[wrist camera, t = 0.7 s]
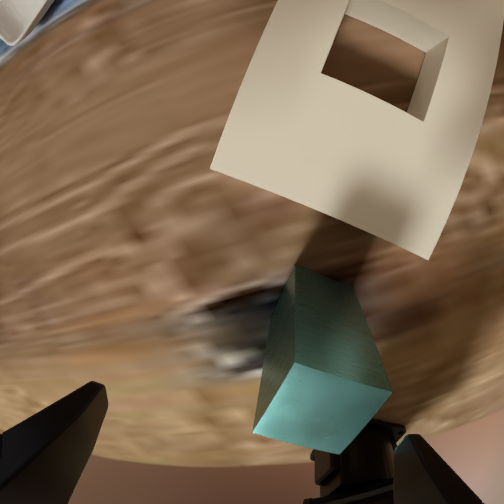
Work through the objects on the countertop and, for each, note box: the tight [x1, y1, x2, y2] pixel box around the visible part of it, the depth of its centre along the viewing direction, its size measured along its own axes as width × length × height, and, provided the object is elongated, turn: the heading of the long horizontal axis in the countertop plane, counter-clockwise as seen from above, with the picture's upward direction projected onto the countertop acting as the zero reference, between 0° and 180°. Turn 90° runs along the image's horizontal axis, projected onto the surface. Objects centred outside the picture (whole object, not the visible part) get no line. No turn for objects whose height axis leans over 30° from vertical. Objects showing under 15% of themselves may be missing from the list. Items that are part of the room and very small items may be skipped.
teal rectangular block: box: [252, 264, 392, 455], centre depth 16 cm, size 4×4×10 cm
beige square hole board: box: [210, 0, 504, 260], centre depth 14 cm, size 12×18×4 cm, turn 160°
